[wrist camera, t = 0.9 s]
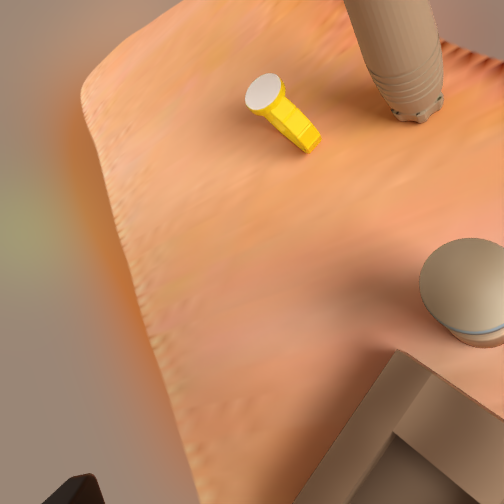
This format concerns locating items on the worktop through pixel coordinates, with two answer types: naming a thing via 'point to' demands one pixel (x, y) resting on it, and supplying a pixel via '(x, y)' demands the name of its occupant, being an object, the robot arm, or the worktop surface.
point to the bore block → (413, 445)
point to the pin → (467, 290)
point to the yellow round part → (281, 111)
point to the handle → (401, 54)
